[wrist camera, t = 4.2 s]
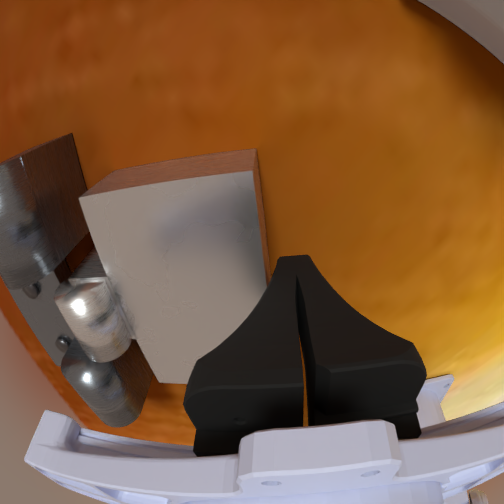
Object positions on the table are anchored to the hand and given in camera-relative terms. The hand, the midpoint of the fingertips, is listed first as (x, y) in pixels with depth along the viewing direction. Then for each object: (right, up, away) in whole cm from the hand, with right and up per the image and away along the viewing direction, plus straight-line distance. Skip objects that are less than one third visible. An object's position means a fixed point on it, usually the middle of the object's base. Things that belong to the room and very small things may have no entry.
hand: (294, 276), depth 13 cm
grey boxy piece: (-5, 0, +2) cm, 6 cm away
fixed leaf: (-13, 0, +3) cm, 13 cm away
